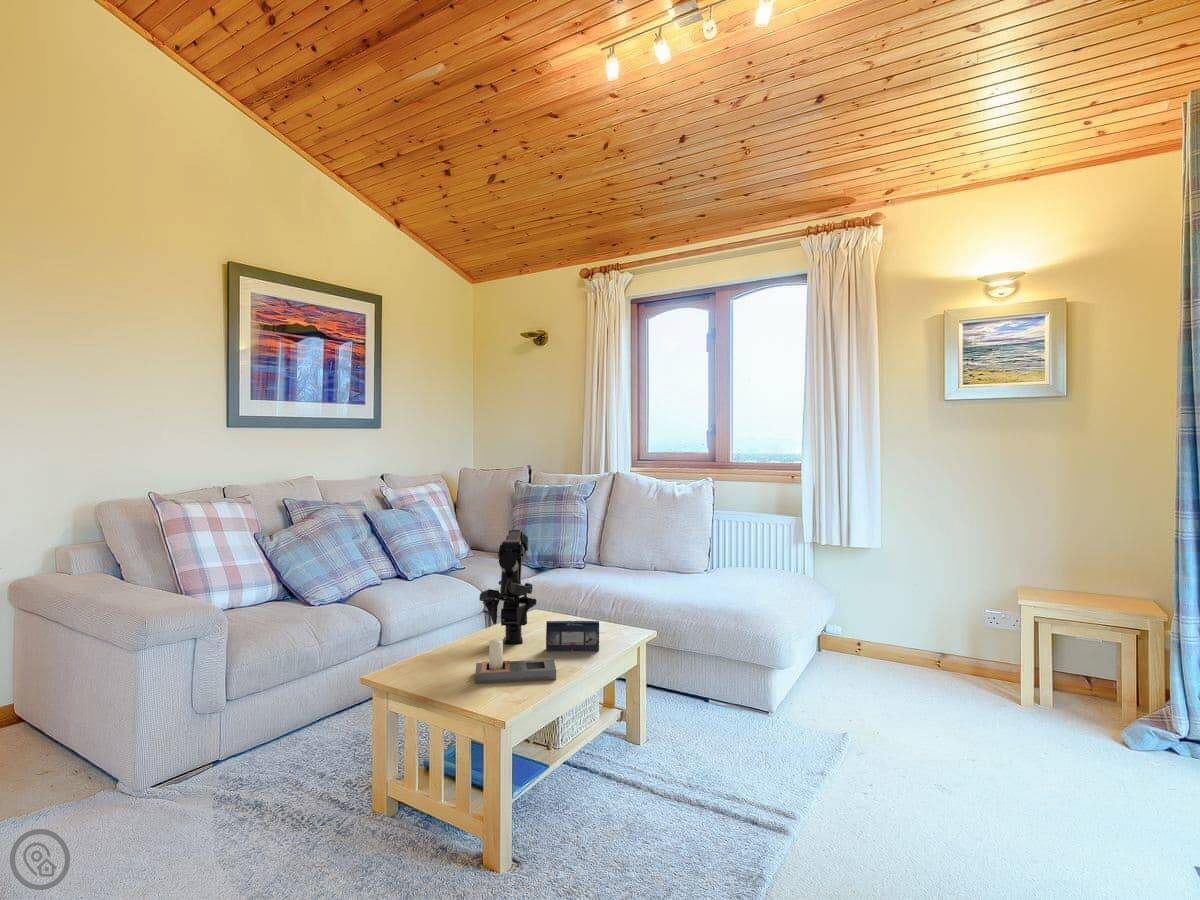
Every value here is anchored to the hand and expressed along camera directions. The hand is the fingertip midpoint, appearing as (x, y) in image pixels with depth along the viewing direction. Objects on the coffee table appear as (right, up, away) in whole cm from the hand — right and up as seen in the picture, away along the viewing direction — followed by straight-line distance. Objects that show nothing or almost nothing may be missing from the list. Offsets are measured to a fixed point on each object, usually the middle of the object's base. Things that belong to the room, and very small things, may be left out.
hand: (507, 625), depth 195 cm
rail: (+4, -13, -9) cm, 16 cm away
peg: (-2, -13, -10) cm, 16 cm away
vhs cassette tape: (+20, -13, +15) cm, 28 cm away
